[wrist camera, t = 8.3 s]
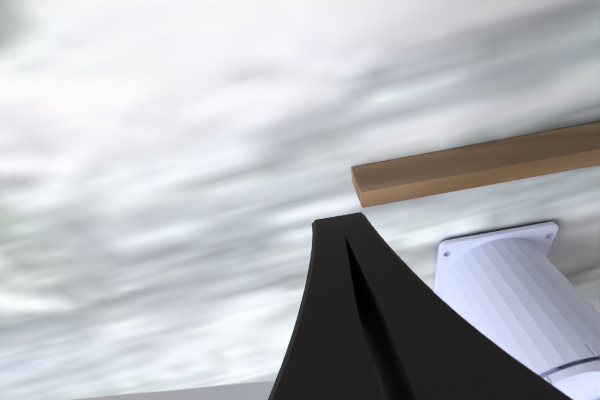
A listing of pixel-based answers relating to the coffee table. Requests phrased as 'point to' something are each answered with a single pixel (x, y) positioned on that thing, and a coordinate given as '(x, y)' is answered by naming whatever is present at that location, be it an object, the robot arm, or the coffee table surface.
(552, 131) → the channel box
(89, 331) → the coffee table surface
